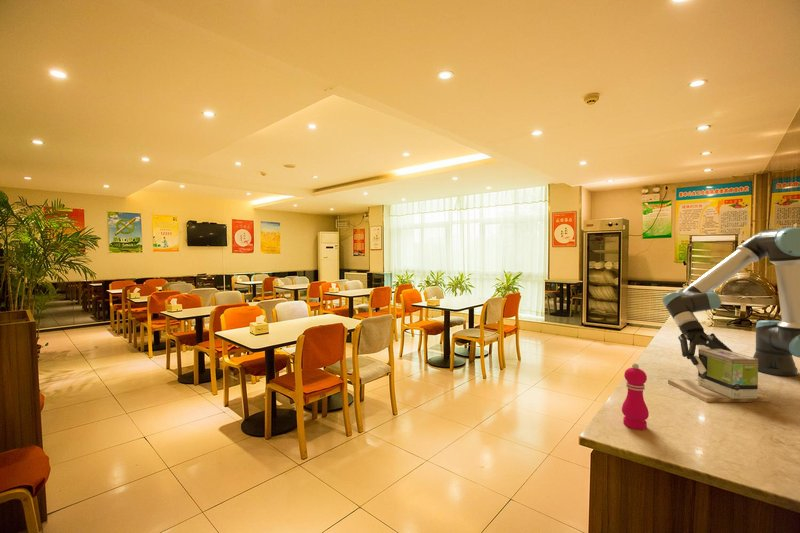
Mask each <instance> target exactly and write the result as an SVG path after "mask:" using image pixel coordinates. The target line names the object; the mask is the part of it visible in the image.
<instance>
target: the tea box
mask: <svg viewBox="0 0 800 533" xmlns="http://www.w3.org/2000/svg"><path fill="white" fill-rule="evenodd" d="M698 357H699V359H700V361H701V362H702V364H703V365H704V367H705V369H706V370H707V371H706V372H705V373H703V374H700V372H699V370H698V369H697V371H698V372H697V379H698V384H699V385H701V386H704V387H706V388H708V389H711V390H713V391H716V392H718V393H720V394H723V395H725V396H727V397H730V398H732V399H753V398H757V393H759V390H758V387H759V384H758V383H759V371H758V359H757V358H753V356H749V355H745V354H742V353H739V352H734V351H733V352H731V351H728V350H724V349H699V356H698Z"/></svg>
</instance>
